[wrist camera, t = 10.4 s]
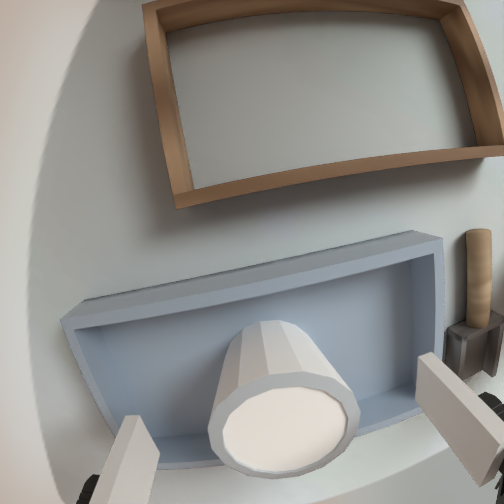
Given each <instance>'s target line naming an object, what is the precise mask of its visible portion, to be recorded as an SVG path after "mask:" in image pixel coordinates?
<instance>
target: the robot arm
mask: <svg viewBox="0 0 504 504" xmlns="http://www.w3.org/2000/svg"><path fill="white" fill-rule="evenodd" d="M415 401H416V402H417V404H418V405H419V406H420V407H421V409H422V410H423V411H424V413H425V414H426V415H427V417H428V418H429V419H430V421H431V422H432V423H433V425H434V426H435V427H436V429H437V430H438V431H439V433H440V434H441V435H442V437H443V438H444V439H445V441H446V442H447V443H448V445H449V446H450V447H451V449H452V450H453V452H454V453H455V454H456V456H457V457H458V458H459V460H460V461H461V462H462V464H463V465H464V467H465V468H466V469H467V471H468V472H469V474H470V475H471V476H472V478H473V479H474V481H475V482H476V483H477V485H478V486H479V487H481V486H483V485H484V484H486V483H488V482H489V481H490V480H492V479H494V477H495V476H496V474H497V472H498V470H499V471H500V472H501V473H502V476H501V478H500V479H499V481H498V483H497V485H496V487H495V489H497V488H498V487H499V490H498V495H497V500H496V504H504V404H502V402H501V401H500V400H499V399H498V398H497V397H496V396H494V395H492V394H489V393H487V392H484V393H482V394H480V395H478V396H477V395H476V394H475V393H474V392H473V391H472V390H471V389H470V388H469V387H468V386H467V385H466V384H465V383H464V382H463V381H462V380H461V379H460V378H459V377H458V376H457V375H456V374H455V373H454V372H453V371H452V370H450V369H449V368H448V367H447V366H446V365H445V364H444V363H443V362H442V361H441V360H440V359H439V358H438V357H437V356H436V355H435V354H433V353H432V352H429V353H426V354H424V355H421V356H418V367H417V381H416V393H415ZM159 456H160V452H159V450H158V449H157V447H156V445H155V443H154V441H153V440H152V438H151V436H150V434H149V432H148V430H147V428H146V427H145V425H144V423H143V421H142V419H141V417H140V415H128V416H125V418H124V420H123V422H122V425H121V427H120V429H119V432H118V434H117V436H116V439H115V441H114V443H113V446H112V448H111V450H110V453H109V455H108V458H107V460H106V462H105V465H104V467H103V470H102V472H101V475H94V474H93V475H92V476H91V477H90V478H89V479H88V480H87V481H86V482H85V484H84V486H83V489H82V493H80V496H79V500H78V501H77V503H76V504H148V501H149V497H150V493H151V489H152V484H153V480H154V476H155V472H156V468H157V464H158V460H159Z"/></svg>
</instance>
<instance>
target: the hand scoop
mask: <svg viewBox="0 0 504 504" xmlns="http://www.w3.org/2000/svg"><path fill="white" fill-rule="evenodd" d="M466 245H467V312H466V320H464V321H462V322H460V323H457V324H455V325H452V326H450V327H448V332H447V348H446V360H445V365H446V366H447V367H448V368H449V369H450V370H452V371H453V372H454V373H455V374H456V375H457V376H458V377H459V378H460V379H461V380H464V379H466V378H468V377H470V376H472V375H474V374H475V373H477V372H479V371H481V370H483V371H485V372H486V373H487V374H488V375H490V376H491V377H494V376H495V375H496V372H497V367H498V362H499V356H500V351H501V344H502V337H503V330H504V316H502V315H500V314H498V313H496V312H494V311H493V310H491V309H490V305H491V285H492V239H491V230H489V229H472V230H468V231H466Z"/></svg>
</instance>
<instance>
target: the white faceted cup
mask: <svg viewBox="0 0 504 504" xmlns="http://www.w3.org/2000/svg"><path fill="white" fill-rule="evenodd" d="M360 414H361V411H360V409H359V406H358V404H357V401H356V399H355V396H354V394H353V392H352V391H351V389H350V388H349V387H348V386H347V384H346V383H345V382H344V380H343V379H342V378H341V377H340V375H339V374H338V373H337V371H336V370H335V369H334V368H333V366H332V365H331V364H330V363H329V361H328V360H327V359H326V357H325V356H324V355H323V354H322V352H321V351H320V350H319V348H318V347H317V346H316V345H315V343H314V342H313V341H312V339H311V338H310V337H309V336H308V335H307V334H306V333H305V332H304V331H302V330H301V329H300V328H299V327H298V326H296V325H294V324H291V323H288V322H284V321H281V320H270V321H259V322H257V323H255V324H253V325H251V326H248V327H246V328H244V329H242V330H241V331H240V332H239V334H238V335H237V336H236V337H235V338H234V339H233V340H232V341H231V342H230V345H229V348H228V350H227V353H226V356H225V359H224V363H223V368H222V372H221V376H220V380H219V384H218V388H217V392H216V396H215V400H214V404H213V408H212V412H211V416H210V421H209V425H208V434H209V439H210V444H211V449H212V450H213V451H214V452H215V453H216V455H217V456H218V457H219V458H220V459H221V460H222V461H223V463H224V464H225V465H227V466H229V467H231V468H233V469H235V470H237V471H239V472H241V473H243V474H245V475H248V476H254V477H260V478H268V479H279V478H288V477H296V476H301V475H303V474H306V473H309V472H311V471H314V470H316V469H319V468H321V467H324V466H325V465H327V464H328V463H329V462H331V461H332V460H333V459H335V458H336V457H337V456H339V455H340V454H341V453H343V452H344V451H345V449H346V448H347V447H348V445H349V444H350V442H351V441H352V439H353V438H354V436H355V435H356V434H357V431H358V425H359V419H360Z"/></svg>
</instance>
